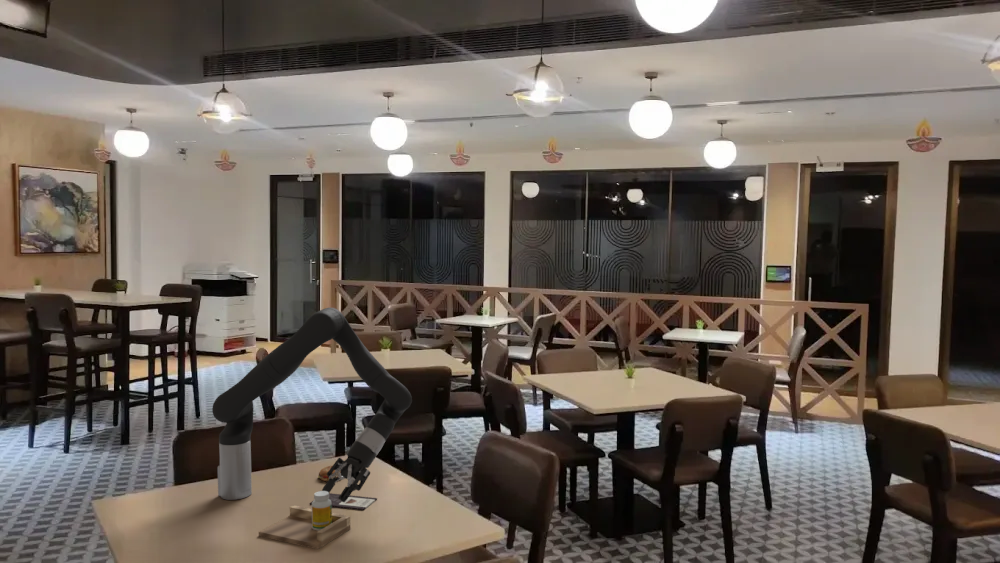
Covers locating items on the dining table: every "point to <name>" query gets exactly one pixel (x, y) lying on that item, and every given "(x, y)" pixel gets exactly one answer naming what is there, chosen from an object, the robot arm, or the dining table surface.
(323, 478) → the hamburger
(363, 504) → the chocolate bar
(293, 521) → the wooden tray
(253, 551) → the dining table surface
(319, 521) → the supplement bottle
